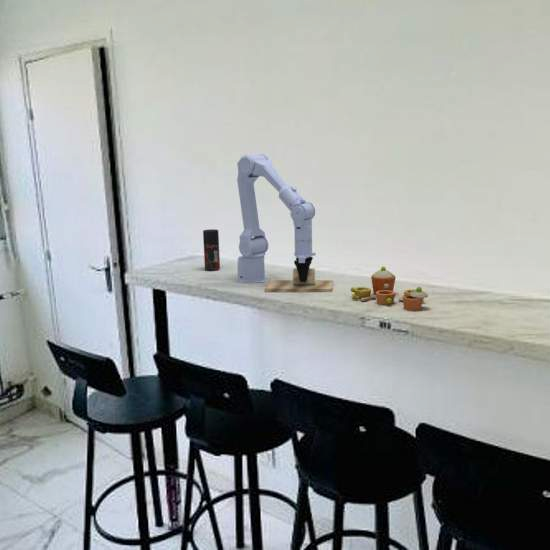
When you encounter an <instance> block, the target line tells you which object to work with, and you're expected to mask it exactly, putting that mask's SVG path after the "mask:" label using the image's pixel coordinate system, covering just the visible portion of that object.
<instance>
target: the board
mask: <svg viewBox="0 0 550 550" xmlns="http://www.w3.org/2000/svg"><path fill="white" fill-rule="evenodd" d="M333 288H334V280H327V279H326V280H320V279H319V280H316V279H315V285H314V286H293V279H289V280H288V279H287V280H286V279H281V280H280V279H269V280H268V282H267V284H266V285H265V287H264V293H333Z"/></svg>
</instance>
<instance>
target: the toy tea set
mask: <svg viewBox="0 0 550 550" xmlns="http://www.w3.org/2000/svg"><path fill="white" fill-rule="evenodd" d="M370 279H371V284H372V288H370V287H366V286H365V287H364V286H358V287H354V286H353V287H351V288H350V292H352V293H351V300H353V301H355V302H370V301H372V300H374V299H376V304H377V305H380V306H381V305H382V306H391V304H392V305H394V302H395V296H396V292H395V291H394V288H395V283H396V275H394V274H393V273H392V272H391V271H389V270H387V268H386V267H385V266H381V268H380V269H379V270H377V271H375V272H374V273H373V274H371V277H370ZM372 292H373V295H371V294H372ZM428 297H429V294H428V293H427V292H425V291H423V289H422V287H421V286H417V287H416V289H405V290H404V291H403V295H402V296H401V297H398V301H401V302H402V301H403V302H402V305H403V309H404V310H405V309H406V311H409V310H412V312H413V311H414V310H415V311H414V312H416V310H418V311H420V310H422V306H423V303H424V302H425V300H424V299H426V298H428Z"/></svg>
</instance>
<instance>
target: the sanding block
mask: <svg viewBox="0 0 550 550" xmlns="http://www.w3.org/2000/svg"><path fill="white" fill-rule="evenodd" d="M292 280H293V286H314V285H315V280H316V268H309V270H308V277H307V281H306V282H300V279H299V275H298V270H297V268H296V267H295V268H293V270H292Z"/></svg>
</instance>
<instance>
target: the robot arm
mask: <svg viewBox="0 0 550 550" xmlns="http://www.w3.org/2000/svg"><path fill="white" fill-rule="evenodd" d="M259 177H263V178H265V180H266V181H268V183H269V184H270V185H271V186H272V187H273V188H274V189H275V190H276V191H277V192H278V198H279V200H281V202H282V203H283V204H284V205H285V207H286V208H287V209H288V210H289V211H290V213H289V215H290V217H291V219H292V223H293V226H294V254H293V255H294V257H295V260H294V261H293V264H294V266H295V268H297V270H298V275H299V279H300V282H306V281H307V277H308V270H309V269H310V266H311V264H312V261H313V259H314V258H313V256H316V255H317V254H316V252H315V251H313V224H312V223H313V222H312V221H313V218H315V215H316V209H315V206H314V204H313V203H312V202H310V201H306V199H305V198H303V197H302V196H301V195H300V194H299V193H298V191H297V188H296V187H295V186H292V185H287V183H286V182H285V181H284V180H283V178H282V177H281V176H280V174H279V172H277V170H276V169H275V168H274V166H273V162H272V160H270V158H269V157H268V156H267V155H266V154H253V155H252V154H251V155H248V154H246V155H245V154H244V155H243V156H241V157H240V159H239V160H238V161H237V179H236V180H237V187H238V195H239V201H240V211H241V216H242V223H243V231H242V232H241V234H240V235H239V245H238V251H239V253H240V254H241V256H238V258H237V283H238V284H240V283H241V284H264V283H266V281H267V279H268V276H265V275H266V274H265V271H266V270H265V255H266V253H267V251H268V250H269V242H268V240H267V238H266V233H265V231H264V230H263V229H261V228H260V222H259V221H260V219H259V214H258V206H257V198H256V189H255V182H257V180H258V178H259Z"/></svg>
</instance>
